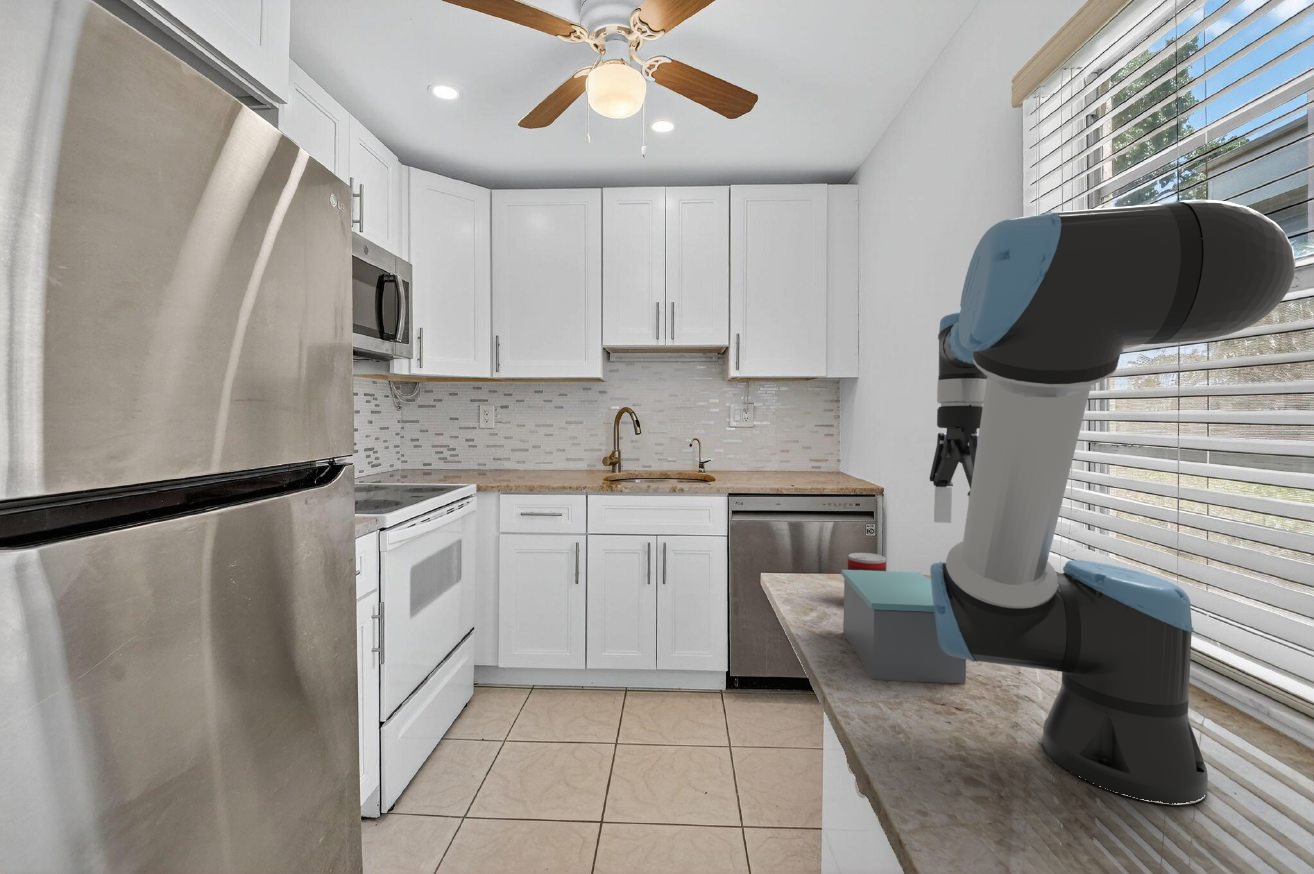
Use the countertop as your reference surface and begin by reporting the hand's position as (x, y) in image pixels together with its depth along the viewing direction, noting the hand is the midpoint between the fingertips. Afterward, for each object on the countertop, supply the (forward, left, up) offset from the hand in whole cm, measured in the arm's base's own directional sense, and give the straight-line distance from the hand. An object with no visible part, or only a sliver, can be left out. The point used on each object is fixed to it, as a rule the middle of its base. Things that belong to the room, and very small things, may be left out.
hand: (958, 529), depth 98 cm
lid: (0, +7, -18) cm, 19 cm away
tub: (0, +10, -22) cm, 24 cm away
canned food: (+28, +8, -23) cm, 37 cm away
